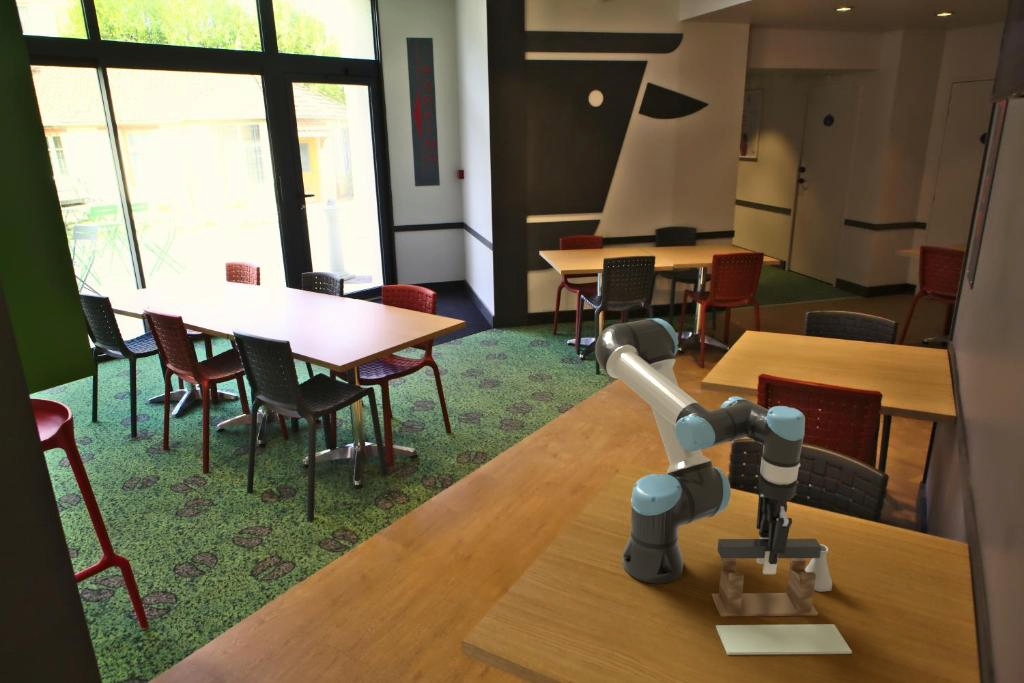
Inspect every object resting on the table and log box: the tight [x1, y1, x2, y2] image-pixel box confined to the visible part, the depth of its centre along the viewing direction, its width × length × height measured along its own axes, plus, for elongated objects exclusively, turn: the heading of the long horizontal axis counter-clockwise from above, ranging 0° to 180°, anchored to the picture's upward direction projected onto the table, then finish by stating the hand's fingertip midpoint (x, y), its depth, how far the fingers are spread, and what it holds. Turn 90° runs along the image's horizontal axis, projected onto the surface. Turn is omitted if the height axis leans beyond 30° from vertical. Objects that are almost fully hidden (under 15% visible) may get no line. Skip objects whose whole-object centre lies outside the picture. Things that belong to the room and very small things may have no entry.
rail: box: [716, 538, 821, 559], centre depth 146 cm, size 22×3×3 cm, turn 90°
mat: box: [715, 623, 853, 656], centre depth 139 cm, size 26×8×1 cm, turn 90°
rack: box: [711, 558, 819, 617], centre depth 149 cm, size 22×7×10 cm, turn 90°
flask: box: [805, 543, 833, 593], centre depth 156 cm, size 7×7×10 cm
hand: (766, 567), depth 148 cm, fingers closed on rail, 3 cm apart
